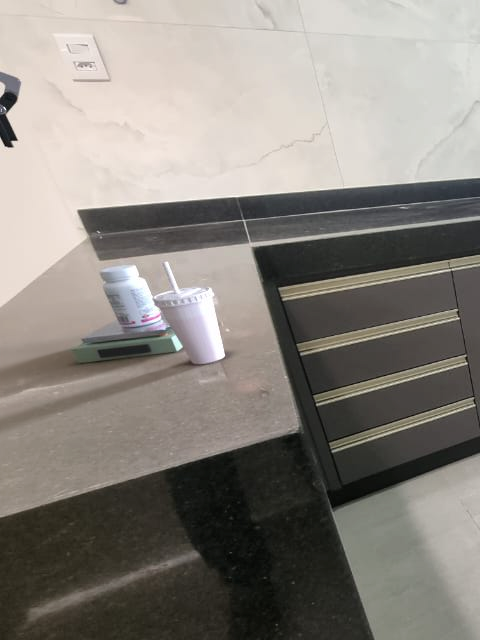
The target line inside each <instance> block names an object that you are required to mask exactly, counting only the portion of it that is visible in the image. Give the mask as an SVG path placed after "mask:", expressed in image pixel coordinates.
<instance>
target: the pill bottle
mask: <svg viewBox="0 0 480 640" xmlns="http://www.w3.org/2000/svg"><path fill="white" fill-rule="evenodd" d="M98 273H99V276H100V277H101V279H102V281H103V282H105V283H104V284H103V285H102V290H103V292H104V293H105V296H106V298H107V300H108V303H109V304H110V307H111V309H112V311H113V313H114V315H115V317H116V320H118V322H119V324H120V325H121V326H122V327H126V328H129V327H137V326H143V325H148V324H151V323H154V322H157V321H158V320H160V319H161V315H160V313H161V312H160V310H159V307H156V306H155V305H154V302H153V300H152V298H153V297H154V296H153V295H152V292H151V290H150V287H149V286H148V283H147V282H146V279H144V278H142V277H139V276H140V274H139V271H138V269H137V267H136V265H134V264H126V265H125V264H123V265H117V266H111V267H106V268H102V269H100V270H99V271H98Z"/></svg>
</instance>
